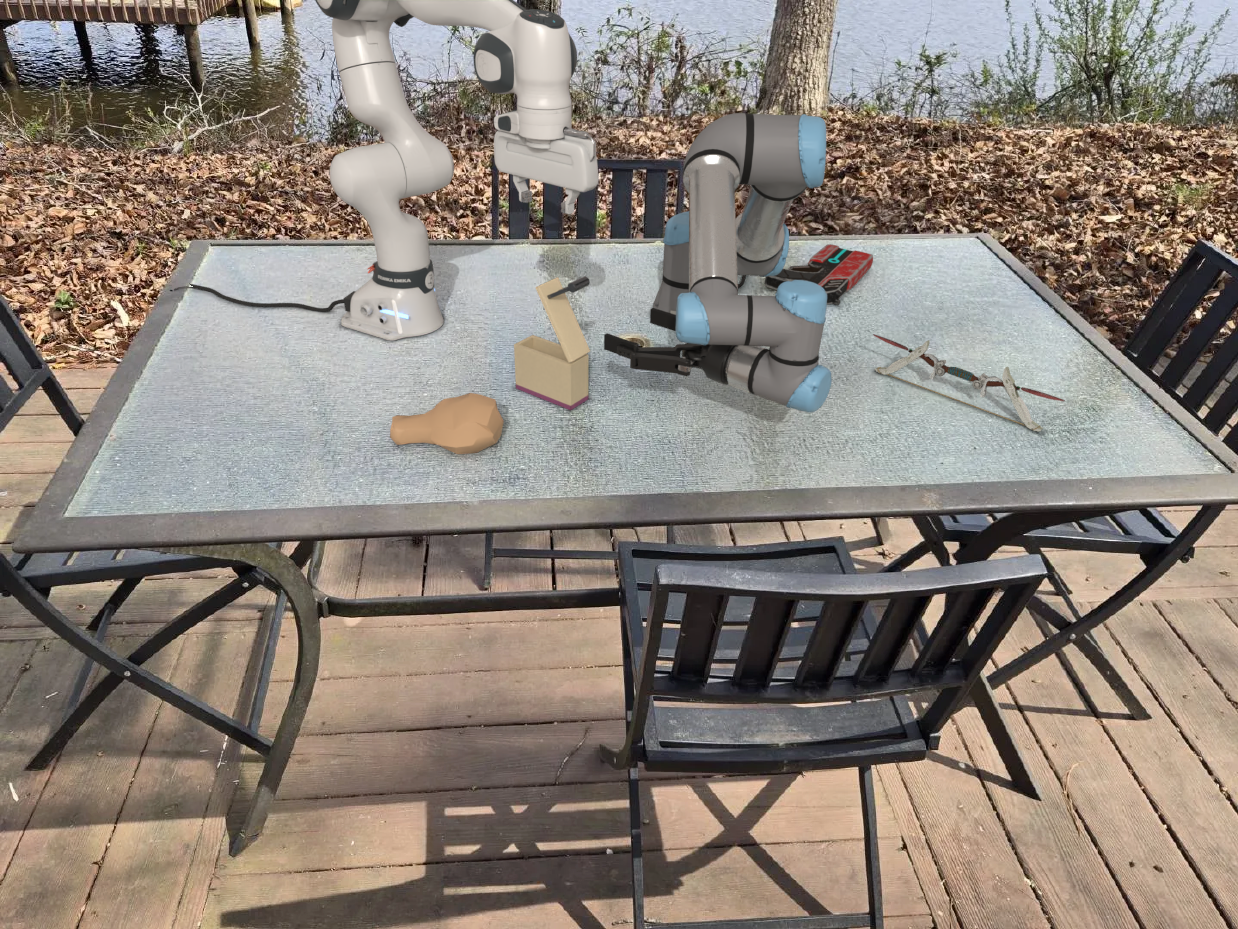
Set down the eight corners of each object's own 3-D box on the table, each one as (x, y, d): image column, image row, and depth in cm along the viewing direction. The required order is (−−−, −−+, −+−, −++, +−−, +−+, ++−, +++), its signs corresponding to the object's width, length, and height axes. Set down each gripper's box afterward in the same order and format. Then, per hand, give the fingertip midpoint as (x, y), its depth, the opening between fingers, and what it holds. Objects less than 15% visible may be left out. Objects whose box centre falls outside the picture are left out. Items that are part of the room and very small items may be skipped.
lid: (535, 287, 157) (566, 274, 151) (554, 278, 161) (586, 265, 155) (568, 362, 160) (600, 352, 154) (586, 352, 164) (618, 342, 158)
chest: (515, 388, 172) (513, 344, 167) (534, 377, 176) (532, 334, 171) (570, 410, 166) (570, 365, 160) (588, 399, 169) (588, 354, 164)
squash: (504, 461, 151) (494, 421, 145) (391, 469, 152) (376, 431, 146) (510, 420, 159) (501, 381, 152) (403, 428, 160) (389, 390, 154)
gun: (761, 274, 213) (838, 293, 205) (807, 236, 235) (878, 252, 227) (759, 291, 216) (834, 311, 208) (805, 252, 238) (874, 269, 230)
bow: (1054, 434, 162) (1071, 386, 157) (1051, 438, 161) (1067, 390, 156) (868, 365, 184) (877, 321, 178) (864, 368, 183) (873, 324, 177)
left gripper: (607, 129, 140) (605, 215, 148) (511, 110, 150) (515, 191, 158) (582, 136, 136) (582, 224, 143) (486, 116, 146) (490, 199, 153)
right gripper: (692, 414, 135) (584, 373, 145) (769, 357, 152) (667, 324, 162) (696, 370, 131) (584, 332, 141) (775, 317, 148) (670, 285, 158)
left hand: (546, 207), depth 151 cm, fingers open, 8 cm apart
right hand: (628, 327), depth 152 cm, fingers open, 13 cm apart
